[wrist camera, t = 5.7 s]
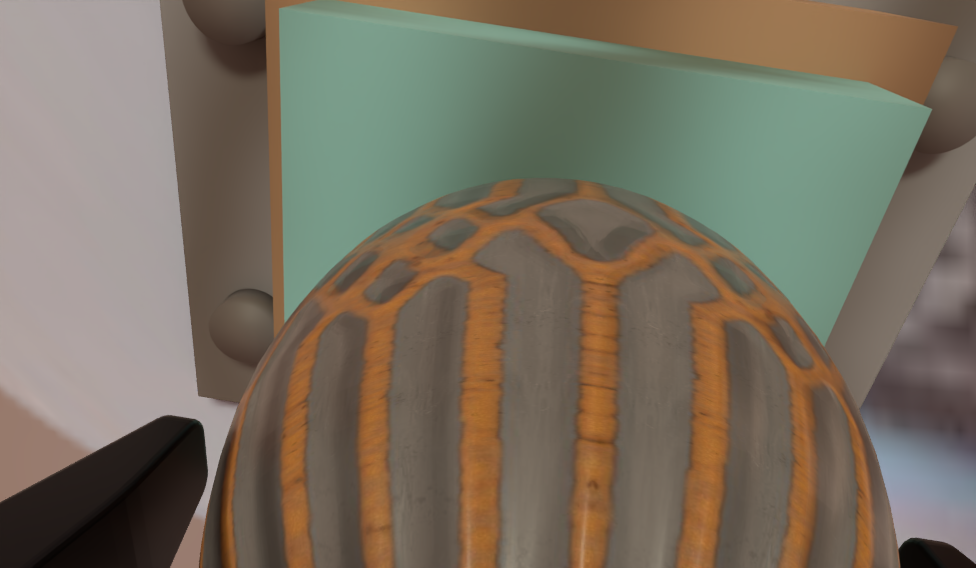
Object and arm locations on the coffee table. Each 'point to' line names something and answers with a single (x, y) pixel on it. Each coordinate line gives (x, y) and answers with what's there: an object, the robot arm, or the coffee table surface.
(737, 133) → the stacked plates with bolts
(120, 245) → the coffee table surface
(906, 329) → the coffee table surface
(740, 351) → the vase
